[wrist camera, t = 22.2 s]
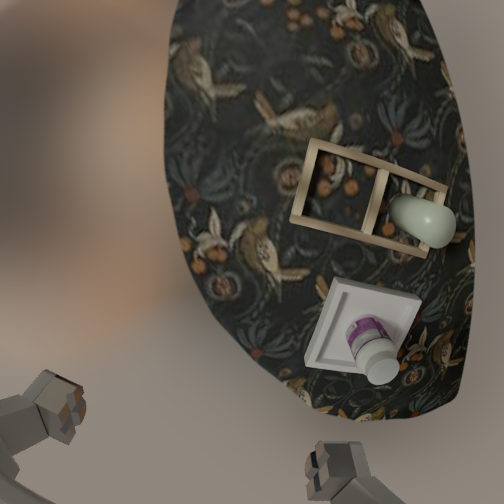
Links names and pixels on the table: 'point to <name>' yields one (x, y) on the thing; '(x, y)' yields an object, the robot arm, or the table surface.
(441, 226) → the sage vial
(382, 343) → the pill bottle
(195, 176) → the table surface
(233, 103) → the table surface
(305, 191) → the light wood flat frame
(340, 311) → the grey tray
